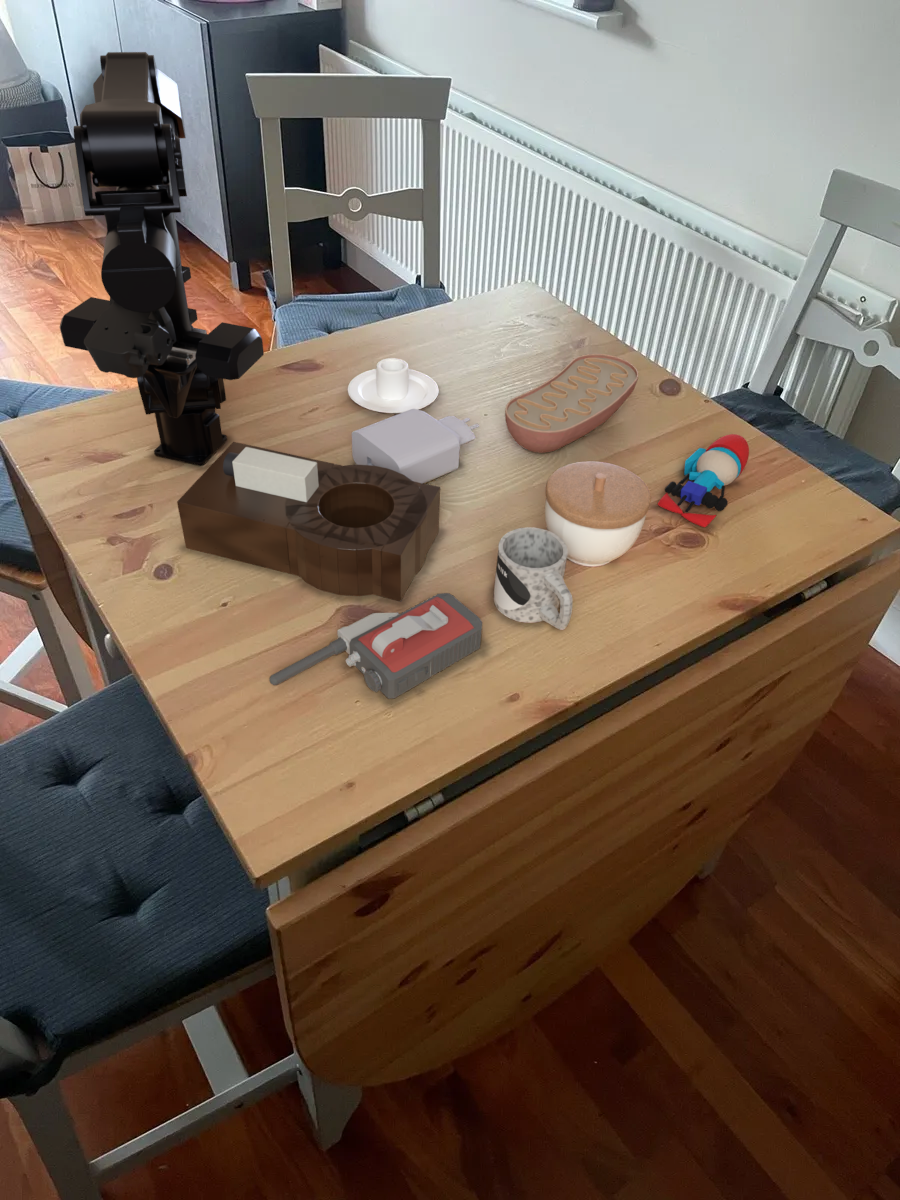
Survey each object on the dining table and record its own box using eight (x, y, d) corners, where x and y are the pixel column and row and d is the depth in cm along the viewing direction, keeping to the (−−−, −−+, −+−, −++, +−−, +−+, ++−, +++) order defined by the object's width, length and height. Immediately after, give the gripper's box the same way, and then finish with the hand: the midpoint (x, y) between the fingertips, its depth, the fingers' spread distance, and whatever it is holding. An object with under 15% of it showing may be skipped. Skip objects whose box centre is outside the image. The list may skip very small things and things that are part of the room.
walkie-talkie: (436, 594, 92) (265, 685, 82) (438, 560, 89) (260, 650, 79) (495, 643, 87) (320, 745, 77) (498, 609, 84) (317, 711, 74)
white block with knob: (223, 483, 95) (219, 458, 93) (237, 468, 97) (233, 443, 95) (306, 502, 93) (304, 478, 91) (318, 486, 95) (317, 462, 93)
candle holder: (386, 363, 127) (386, 334, 124) (456, 391, 122) (457, 361, 120) (329, 397, 120) (327, 367, 117) (401, 428, 115) (401, 397, 112)
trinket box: (657, 550, 99) (675, 478, 92) (596, 595, 93) (611, 521, 87) (580, 506, 104) (592, 435, 98) (518, 546, 98) (526, 474, 92)
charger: (497, 455, 111) (399, 498, 104) (449, 423, 116) (352, 462, 109) (500, 421, 108) (399, 463, 101) (450, 390, 113) (350, 427, 106)
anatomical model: (586, 380, 126) (591, 346, 123) (649, 405, 122) (656, 371, 118) (487, 448, 112) (490, 412, 109) (554, 479, 108) (559, 443, 105)
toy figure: (709, 541, 103) (766, 465, 110) (713, 508, 99) (771, 432, 106) (649, 519, 106) (707, 447, 114) (650, 487, 103) (710, 414, 110)
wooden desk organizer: (179, 554, 95) (170, 508, 91) (244, 480, 105) (238, 435, 101) (398, 610, 90) (398, 563, 86) (443, 526, 100) (446, 481, 96)
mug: (481, 590, 93) (485, 538, 88) (535, 571, 95) (542, 520, 91) (535, 652, 86) (542, 600, 82) (592, 630, 89) (602, 579, 85)
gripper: (0, 280, 78) (47, 437, 89) (195, 318, 75) (220, 477, 85) (78, 235, 86) (112, 384, 97) (257, 267, 82) (273, 418, 93)
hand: (176, 415), depth 93 cm, fingers closed
